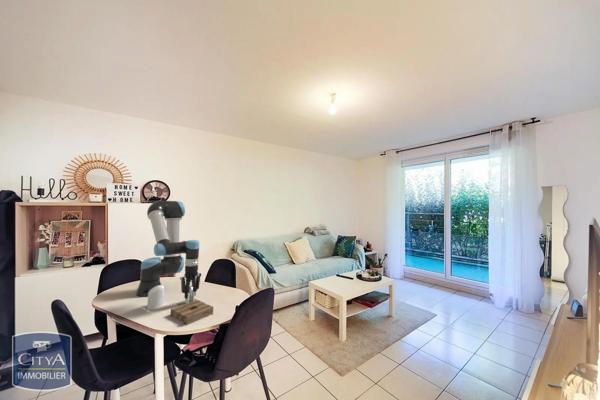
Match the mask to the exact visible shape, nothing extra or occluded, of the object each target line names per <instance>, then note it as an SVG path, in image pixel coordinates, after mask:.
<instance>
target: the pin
mask: <svg viewBox="0 0 600 400" xmlns="http://www.w3.org/2000/svg"><path fill="white" fill-rule="evenodd" d="M188 293H189V302H192V299H193V286H192V285H190V286H189V291H188Z"/></svg>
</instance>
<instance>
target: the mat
mask: <svg viewBox="0 0 600 400" xmlns="http://www.w3.org/2000/svg"><path fill="white" fill-rule="evenodd" d="M195 300H198V301H200V302H203V303H205V302H204V301H201V300H199V299H197V298H194V301H195ZM184 304H186V303H185V300H182V301H179V302H177V303H175V305H177V306H181V305H184Z"/></svg>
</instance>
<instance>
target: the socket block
mask: <svg viewBox="0 0 600 400" xmlns="http://www.w3.org/2000/svg"><path fill="white" fill-rule="evenodd" d="M198 300H199V299H197V300H195V301H192V302H189V303H187V304H184V305H181V306H179V305H177V306H175V307H172V308H170V312H169V313H170V316H171V317H172V318H174V319H176V320H178V321H180V322H183V324H185V325H190V324H193V323H195V322H197V321H200V320H202V319H205V318H207V317H209V316H211V315H213V314H214V306H213V305H210V304H208V303H205V302H204V301H202V302H200V301H201V300H199V301H198ZM203 302H204V303H203Z"/></svg>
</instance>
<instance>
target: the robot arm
mask: <svg viewBox="0 0 600 400" xmlns="http://www.w3.org/2000/svg"><path fill="white" fill-rule="evenodd" d="M185 214H186V208H185V204H184V203H183V202H182V201H179V200H156V201H154V202H152V203H151V204H150V205H149V207H148V208H147V212H146V215H147V216H146V217H147V219H148V220H150V223H151V227H152V231H153V234H154V238H155V241H156V243H155V244H154V247H153V254H154V255H155V256H154V257H150V258H146V259H144V260H143V261H142V262H141V264H140V275H139V276H140V278H139V279H140V281H139V285H138V287H137V289H136V296H138V297H148V292H149V291H150V290H151V289H152V288H154V287H156V286H159V285H161V286H162V283H161V280H160V279H161V277H162V276H167V275H169V276H170V275H175V274H179V273H181V272H182V270H183V269H184V276H180V277H179V279H180V281H181V282H180V283H181V284H180V285H181V287H180V288H181V293H182V294H184V301H185V303H186V304H187V303H189V293H188V291H189V286H193V299H192V301H194V299H195V297H196V292H197V291H198V290H199V288H200V284H201V283H200V282H201V281H200V280H201V276H202V273H201V272H198V271H199V265H198V264H199V254H200V241H199V240H198V239H189V240H182V241H180V222H181V220H182V219H183V217H184V216H185ZM165 221H166V223H165ZM182 254H185V258H184V257H183V256H182ZM161 257H162V258H161Z"/></svg>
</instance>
